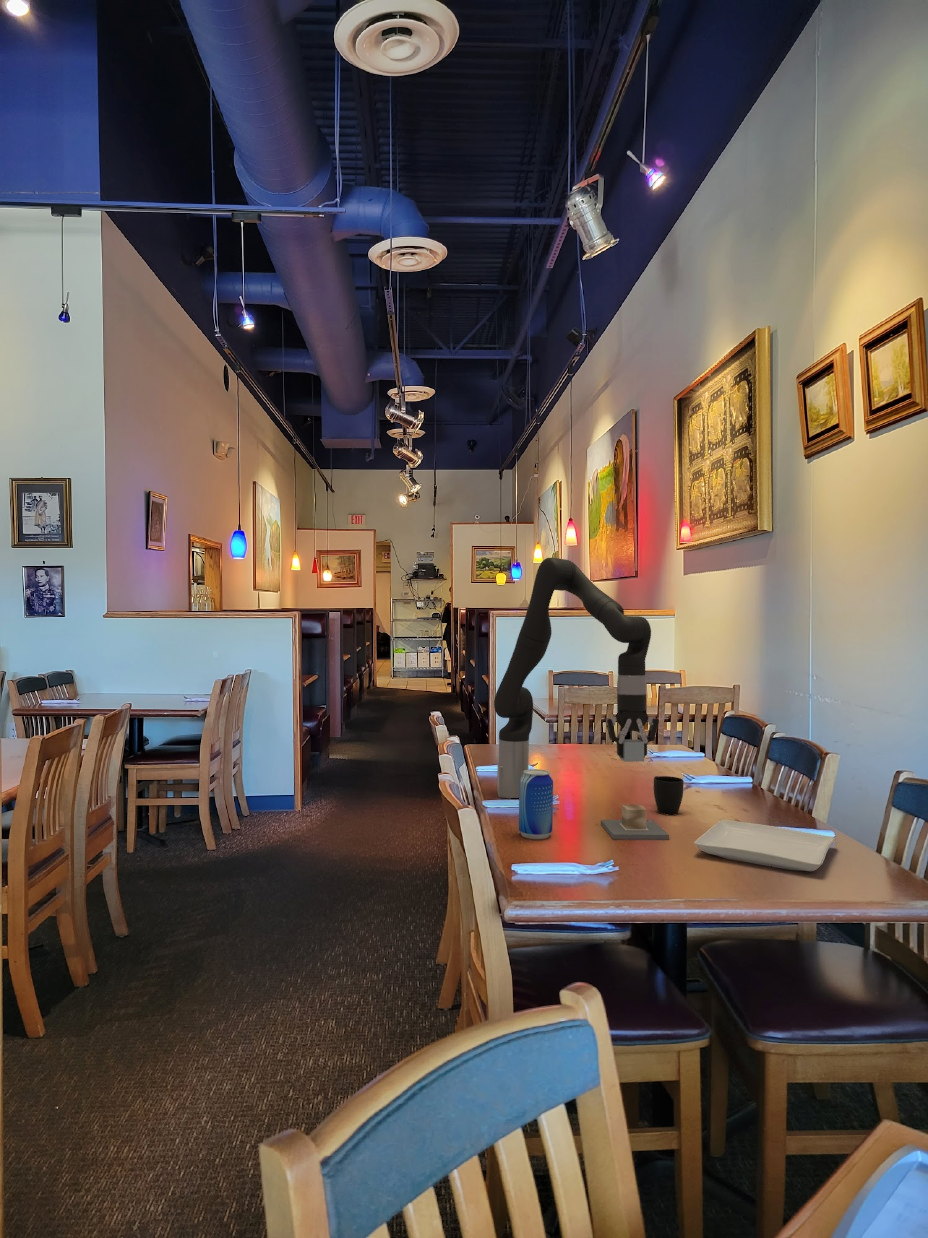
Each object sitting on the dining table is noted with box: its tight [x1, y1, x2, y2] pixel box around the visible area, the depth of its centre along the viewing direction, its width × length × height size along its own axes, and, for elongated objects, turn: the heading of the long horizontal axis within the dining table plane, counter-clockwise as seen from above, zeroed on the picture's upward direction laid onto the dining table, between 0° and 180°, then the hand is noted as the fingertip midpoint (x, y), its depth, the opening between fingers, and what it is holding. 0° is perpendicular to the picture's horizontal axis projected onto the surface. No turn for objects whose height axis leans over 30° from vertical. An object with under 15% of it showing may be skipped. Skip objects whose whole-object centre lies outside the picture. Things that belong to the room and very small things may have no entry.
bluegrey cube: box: [619, 739, 645, 763], centre depth 201 cm, size 5×5×5 cm
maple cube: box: [621, 804, 647, 829], centre depth 198 cm, size 5×5×5 cm
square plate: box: [693, 819, 836, 872], centre depth 182 cm, size 27×27×4 cm
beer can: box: [518, 768, 554, 840], centre depth 192 cm, size 8×8×16 cm
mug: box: [653, 775, 685, 816], centre depth 220 cm, size 8×12×10 cm
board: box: [600, 819, 670, 841], centre depth 198 cm, size 14×14×1 cm
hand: (632, 757), depth 201 cm, fingers closed on bluegrey cube, 5 cm apart
